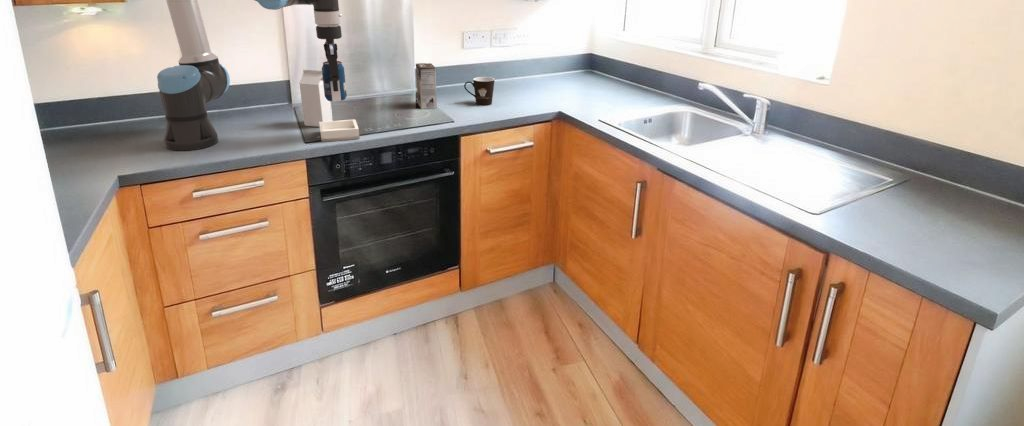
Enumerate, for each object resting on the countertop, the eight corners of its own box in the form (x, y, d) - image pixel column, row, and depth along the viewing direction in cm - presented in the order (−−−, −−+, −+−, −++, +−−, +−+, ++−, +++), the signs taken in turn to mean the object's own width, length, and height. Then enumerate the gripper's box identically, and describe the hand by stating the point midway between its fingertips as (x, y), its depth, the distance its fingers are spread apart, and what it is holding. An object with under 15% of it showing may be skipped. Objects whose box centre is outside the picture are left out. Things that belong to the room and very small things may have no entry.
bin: (321, 142, 195) (320, 131, 194) (320, 131, 205) (319, 121, 204) (359, 139, 199) (358, 128, 197) (356, 129, 209) (355, 119, 208)
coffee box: (417, 103, 243) (415, 63, 237) (433, 102, 245) (431, 62, 239) (420, 109, 235) (419, 67, 229) (437, 108, 237) (435, 66, 231)
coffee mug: (498, 103, 247) (498, 78, 242) (486, 107, 240) (486, 82, 236) (475, 99, 252) (475, 75, 248) (463, 103, 245) (462, 78, 241)
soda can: (322, 101, 194) (317, 64, 189) (329, 96, 200) (325, 60, 196) (343, 102, 194) (339, 64, 189) (350, 97, 200) (346, 60, 195)
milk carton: (323, 127, 210) (317, 72, 203) (304, 126, 212) (297, 71, 204) (332, 122, 217) (327, 68, 209) (314, 120, 218) (308, 67, 210)
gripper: (343, 28, 180) (350, 104, 189) (338, 21, 197) (345, 91, 207) (316, 29, 178) (325, 106, 187) (314, 21, 195) (322, 92, 204)
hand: (336, 98), depth 197 cm, fingers closed on soda can, 7 cm apart
